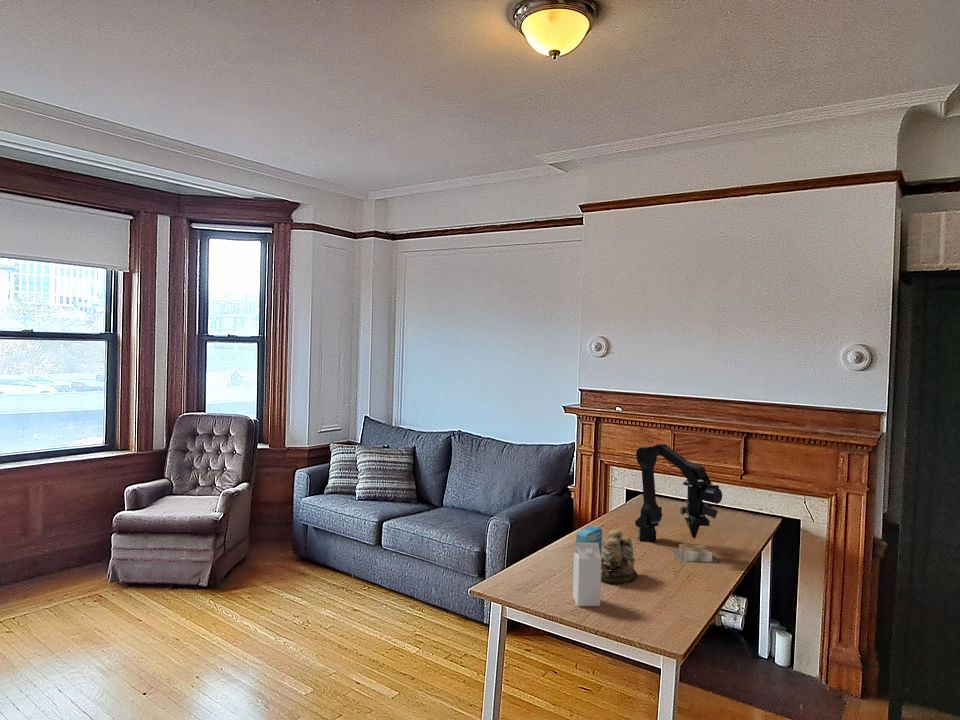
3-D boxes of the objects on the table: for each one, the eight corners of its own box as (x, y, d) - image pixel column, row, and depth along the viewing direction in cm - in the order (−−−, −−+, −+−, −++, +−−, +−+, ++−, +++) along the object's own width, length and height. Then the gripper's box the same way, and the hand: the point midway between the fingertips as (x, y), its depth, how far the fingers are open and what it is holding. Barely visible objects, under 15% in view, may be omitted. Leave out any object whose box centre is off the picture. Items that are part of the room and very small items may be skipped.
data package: (585, 566, 238) (586, 534, 238) (575, 563, 241) (576, 531, 241) (601, 558, 247) (602, 527, 247) (591, 555, 250) (592, 525, 250)
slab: (678, 553, 254) (685, 560, 245) (679, 544, 254) (685, 551, 245) (704, 553, 254) (712, 561, 244) (704, 545, 253) (712, 552, 244)
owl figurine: (620, 589, 216) (621, 539, 216) (590, 580, 224) (590, 532, 223) (644, 575, 230) (645, 527, 230) (615, 567, 237) (615, 521, 237)
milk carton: (572, 597, 208) (574, 539, 207) (594, 597, 208) (595, 539, 208) (577, 606, 200) (579, 546, 200) (600, 606, 201) (601, 546, 201)
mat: (680, 563, 244) (680, 561, 244) (670, 550, 259) (670, 549, 259) (718, 564, 243) (718, 562, 243) (705, 551, 258) (705, 550, 258)
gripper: (724, 504, 241) (722, 545, 242) (708, 493, 260) (707, 531, 260) (694, 503, 242) (692, 544, 242) (680, 492, 260) (679, 530, 261)
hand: (693, 537), depth 251 cm, fingers closed
